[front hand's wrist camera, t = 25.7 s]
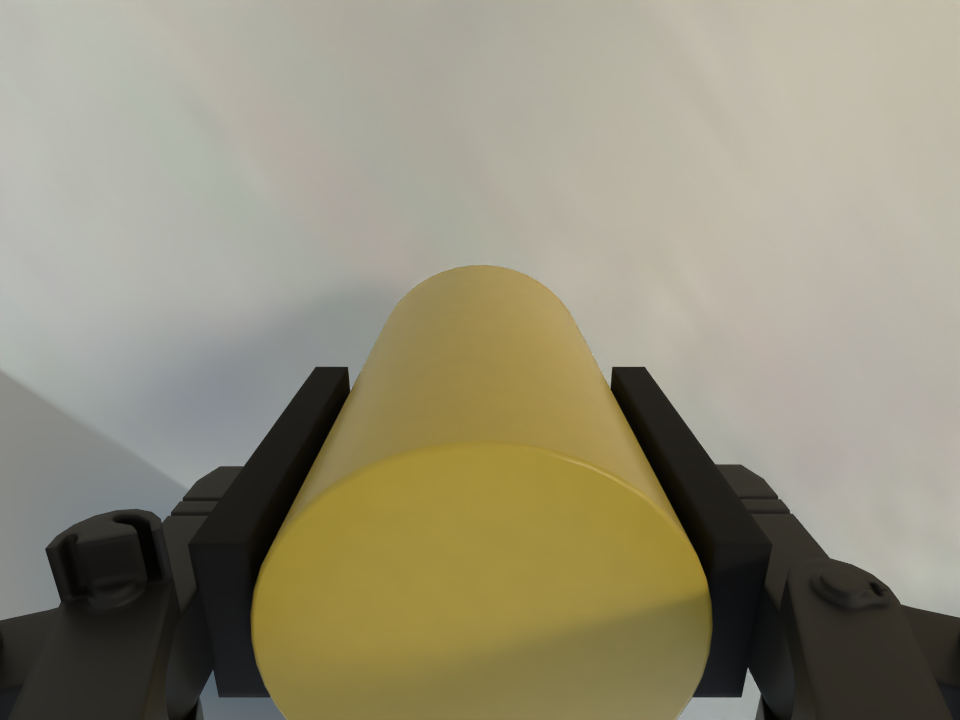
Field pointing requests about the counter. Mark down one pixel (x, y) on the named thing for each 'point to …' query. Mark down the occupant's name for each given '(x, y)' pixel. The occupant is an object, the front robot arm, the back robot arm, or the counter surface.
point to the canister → (481, 533)
